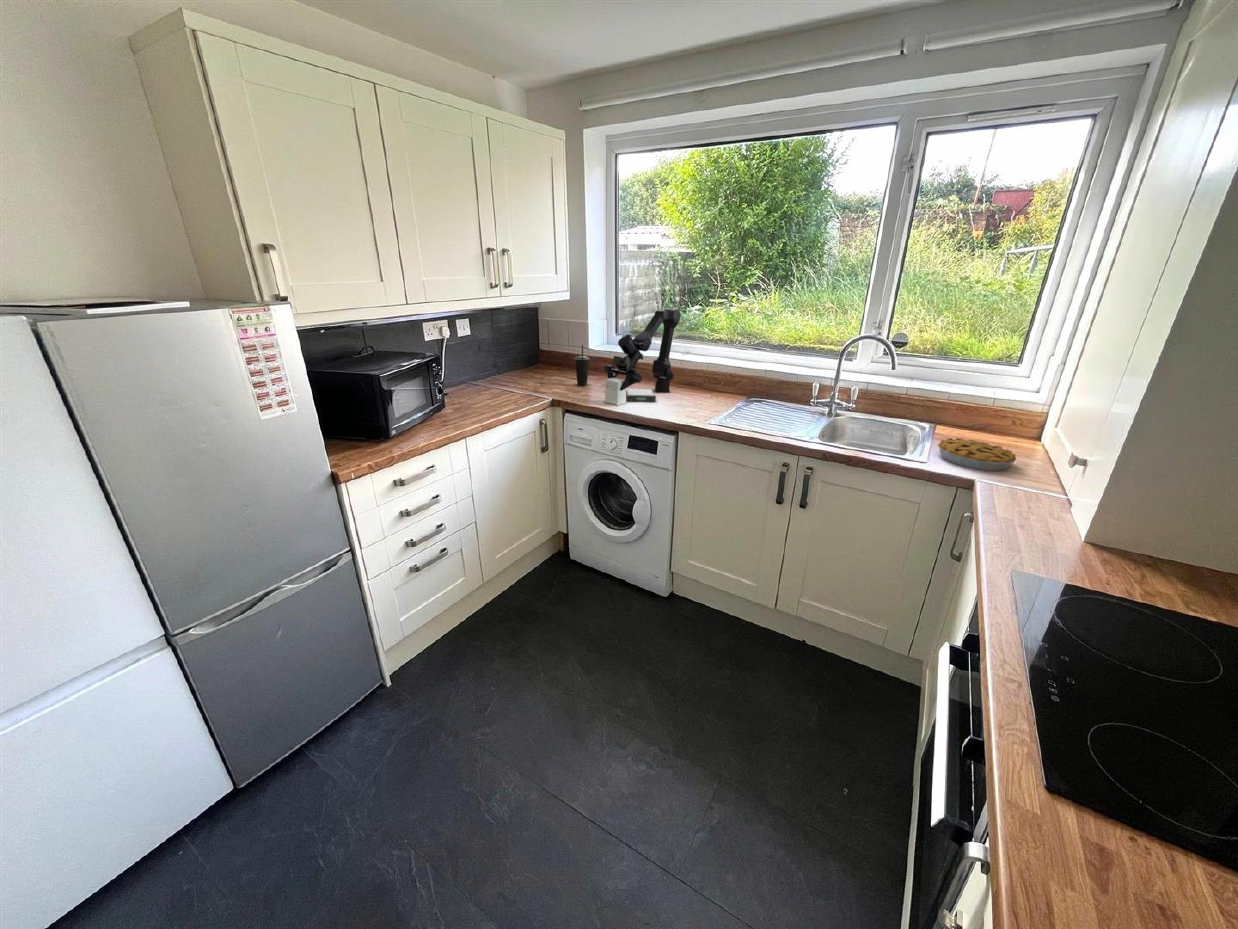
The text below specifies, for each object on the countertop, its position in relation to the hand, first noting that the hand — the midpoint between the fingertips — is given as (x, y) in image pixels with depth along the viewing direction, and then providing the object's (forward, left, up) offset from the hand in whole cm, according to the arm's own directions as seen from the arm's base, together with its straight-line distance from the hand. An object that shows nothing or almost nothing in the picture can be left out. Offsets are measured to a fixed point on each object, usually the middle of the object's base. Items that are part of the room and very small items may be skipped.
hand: (613, 388), depth 220 cm
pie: (-118, +68, -7) cm, 136 cm away
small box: (-1, -1, -7) cm, 7 cm away
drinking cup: (+14, -36, -7) cm, 39 cm away
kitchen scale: (-13, -10, -7) cm, 18 cm away
